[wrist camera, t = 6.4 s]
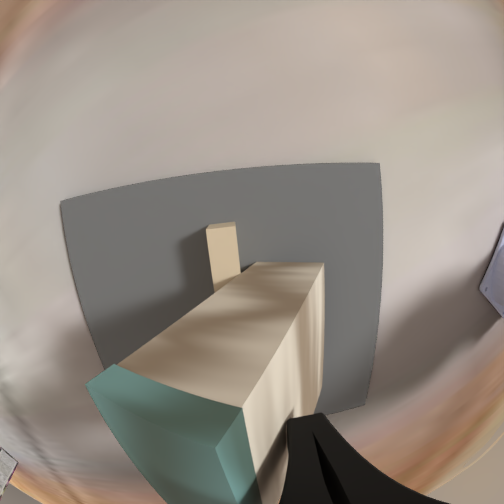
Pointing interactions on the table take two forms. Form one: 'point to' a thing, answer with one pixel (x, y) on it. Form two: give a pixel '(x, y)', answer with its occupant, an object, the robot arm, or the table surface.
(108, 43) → the table surface
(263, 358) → the ash slab
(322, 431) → the robot arm
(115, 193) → the rubber mat
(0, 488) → the candy bar box
